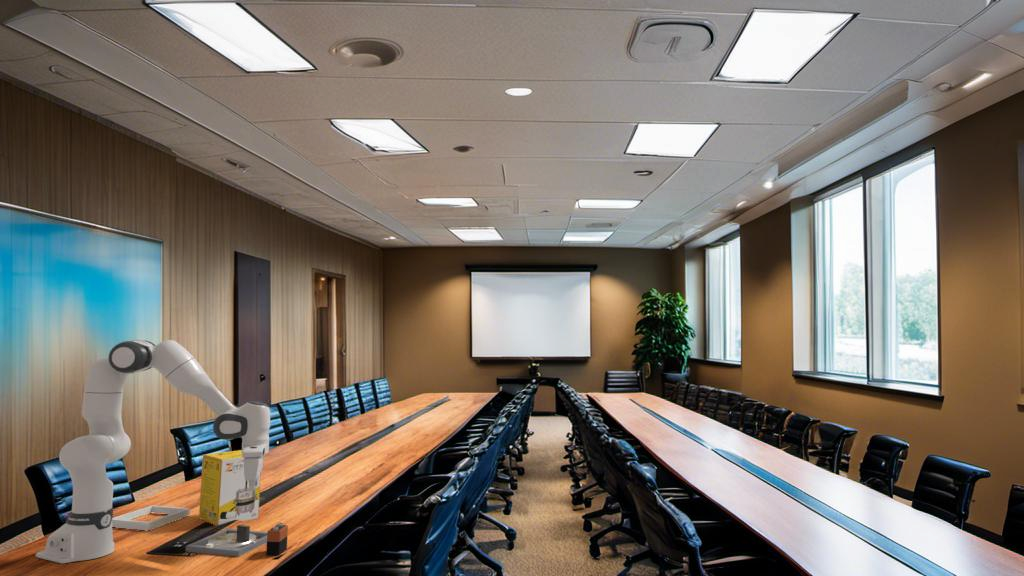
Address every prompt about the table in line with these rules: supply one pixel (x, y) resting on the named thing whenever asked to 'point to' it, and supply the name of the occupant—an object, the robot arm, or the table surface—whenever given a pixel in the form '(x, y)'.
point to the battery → (277, 540)
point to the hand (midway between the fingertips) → (253, 488)
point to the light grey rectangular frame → (127, 523)
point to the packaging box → (226, 489)
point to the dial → (234, 538)
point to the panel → (209, 548)
